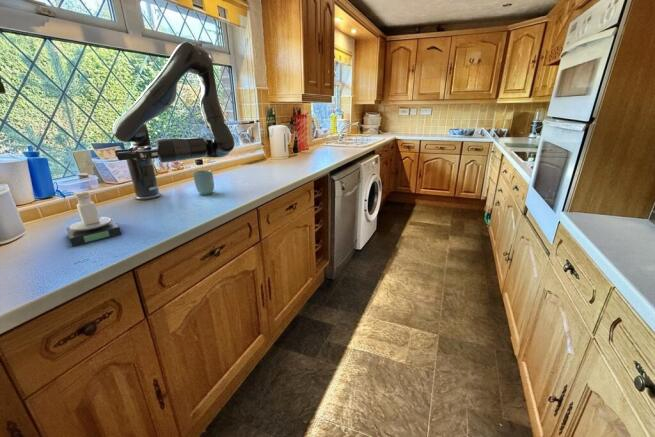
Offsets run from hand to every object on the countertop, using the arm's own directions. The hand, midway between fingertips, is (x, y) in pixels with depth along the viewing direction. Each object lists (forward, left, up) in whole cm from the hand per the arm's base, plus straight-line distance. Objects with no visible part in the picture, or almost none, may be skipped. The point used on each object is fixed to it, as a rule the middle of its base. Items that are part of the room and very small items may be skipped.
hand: (116, 155), depth 92 cm
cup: (-22, +33, -23) cm, 46 cm away
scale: (-1, -11, -23) cm, 26 cm away
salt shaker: (-1, -11, -19) cm, 22 cm away
